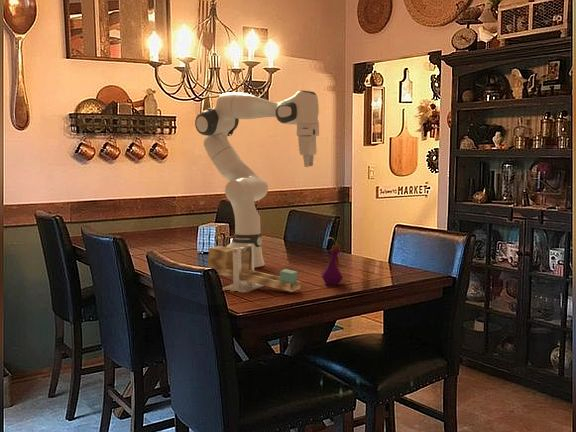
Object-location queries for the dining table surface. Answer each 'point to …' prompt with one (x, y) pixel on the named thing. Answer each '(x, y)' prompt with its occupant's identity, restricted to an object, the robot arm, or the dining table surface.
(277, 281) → the beam
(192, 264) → the dining table surface
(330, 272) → the purple vase
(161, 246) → the dining table surface
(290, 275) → the block
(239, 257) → the stand
